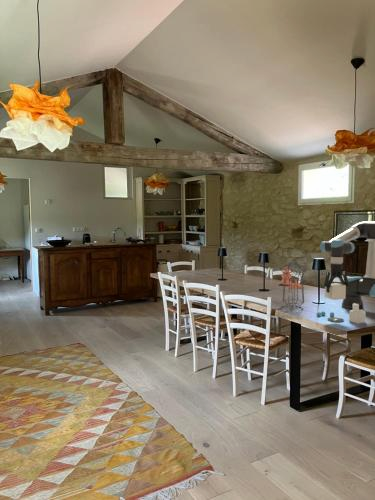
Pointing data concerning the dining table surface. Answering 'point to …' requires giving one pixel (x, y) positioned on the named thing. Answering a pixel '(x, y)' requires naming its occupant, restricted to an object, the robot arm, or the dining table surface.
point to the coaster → (335, 319)
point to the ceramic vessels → (290, 281)
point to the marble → (332, 314)
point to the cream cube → (337, 291)
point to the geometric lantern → (293, 280)
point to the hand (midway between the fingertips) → (335, 297)
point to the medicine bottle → (357, 314)
